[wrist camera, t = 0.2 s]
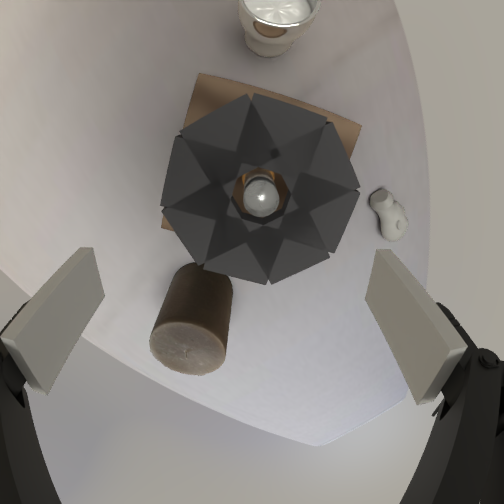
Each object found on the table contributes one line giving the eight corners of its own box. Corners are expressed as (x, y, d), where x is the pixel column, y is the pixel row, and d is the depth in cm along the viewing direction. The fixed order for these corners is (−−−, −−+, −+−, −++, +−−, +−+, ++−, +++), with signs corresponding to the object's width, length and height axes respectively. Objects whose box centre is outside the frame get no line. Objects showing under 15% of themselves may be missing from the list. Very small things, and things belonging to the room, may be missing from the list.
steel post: (247, 155, 35) (246, 174, 25) (277, 164, 35) (288, 186, 26) (238, 184, 36) (234, 213, 27) (267, 192, 37) (274, 224, 27)
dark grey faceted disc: (195, 80, 24) (191, 77, 22) (372, 138, 26) (380, 140, 24) (156, 246, 31) (151, 255, 30) (310, 286, 34) (313, 296, 32)
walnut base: (201, 75, 32) (199, 73, 30) (356, 124, 35) (361, 125, 33) (164, 222, 41) (161, 227, 39) (304, 259, 44) (306, 266, 42)
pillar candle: (215, 252, 43) (199, 319, 30) (242, 302, 47) (239, 375, 34) (160, 274, 45) (129, 339, 31) (190, 319, 49) (173, 388, 35)
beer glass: (306, 47, 30) (339, 12, 17) (258, 69, 31) (265, 42, 18) (278, 6, 27) (294, -46, 14) (230, 28, 29) (219, -18, 15)
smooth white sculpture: (399, 224, 42) (378, 242, 42) (385, 180, 39) (361, 197, 39) (418, 231, 39) (396, 250, 38) (405, 184, 35) (380, 203, 35)
